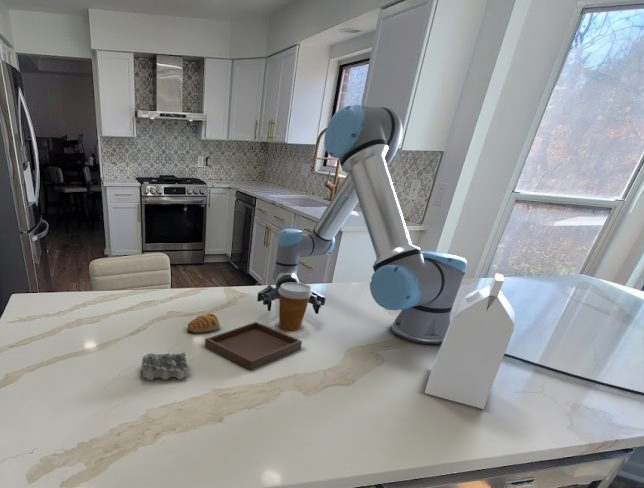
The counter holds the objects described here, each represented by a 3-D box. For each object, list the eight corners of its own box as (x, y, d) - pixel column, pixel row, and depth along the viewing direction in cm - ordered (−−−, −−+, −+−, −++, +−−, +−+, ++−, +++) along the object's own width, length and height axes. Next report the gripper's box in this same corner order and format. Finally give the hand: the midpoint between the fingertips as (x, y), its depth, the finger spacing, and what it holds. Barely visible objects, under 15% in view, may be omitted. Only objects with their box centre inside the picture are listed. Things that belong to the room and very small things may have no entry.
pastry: (196, 336, 120) (196, 323, 118) (181, 329, 124) (181, 316, 122) (221, 328, 125) (222, 316, 123) (206, 321, 129) (206, 309, 127)
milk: (483, 409, 91) (536, 290, 78) (424, 393, 96) (464, 279, 83) (484, 385, 100) (532, 275, 87) (430, 371, 105) (468, 266, 92)
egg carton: (141, 380, 98) (140, 365, 96) (142, 365, 104) (142, 350, 102) (187, 380, 99) (188, 364, 96) (186, 365, 105) (186, 350, 103)
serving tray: (300, 348, 115) (302, 340, 114) (250, 370, 104) (251, 361, 102) (254, 329, 125) (255, 321, 124) (205, 346, 114) (205, 338, 113)
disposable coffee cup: (270, 329, 126) (275, 289, 120) (277, 318, 133) (282, 280, 127) (303, 334, 123) (310, 294, 117) (308, 323, 130) (315, 284, 124)
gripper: (323, 298, 142) (335, 322, 124) (248, 294, 144) (248, 317, 126) (327, 276, 138) (340, 297, 120) (250, 272, 140) (251, 292, 122)
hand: (293, 307), depth 123 cm, fingers open, 13 cm apart
